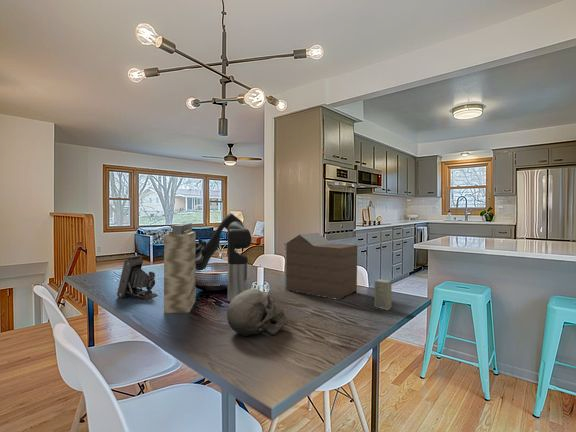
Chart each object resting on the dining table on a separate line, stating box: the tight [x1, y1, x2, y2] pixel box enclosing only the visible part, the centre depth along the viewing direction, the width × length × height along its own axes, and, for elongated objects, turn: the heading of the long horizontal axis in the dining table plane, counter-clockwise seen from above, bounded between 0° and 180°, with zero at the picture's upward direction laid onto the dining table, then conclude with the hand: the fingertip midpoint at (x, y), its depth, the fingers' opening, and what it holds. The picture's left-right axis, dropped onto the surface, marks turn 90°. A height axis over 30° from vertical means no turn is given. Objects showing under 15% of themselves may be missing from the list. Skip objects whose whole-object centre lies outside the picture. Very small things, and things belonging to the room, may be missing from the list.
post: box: [163, 228, 197, 314], centre depth 137 cm, size 10×16×33 cm, turn 8°
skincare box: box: [373, 278, 393, 309], centre depth 139 cm, size 6×4×12 cm
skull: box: [226, 287, 288, 337], centre depth 109 cm, size 13×16×20 cm
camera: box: [116, 254, 159, 301], centre depth 153 cm, size 11×17×20 cm, turn 79°
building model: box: [283, 232, 358, 300], centre depth 168 cm, size 19×34×30 cm, turn 54°
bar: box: [172, 222, 193, 234], centre depth 141 cm, size 4×26×4 cm, turn 8°
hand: (190, 239), depth 163 cm, fingers open, 8 cm apart
